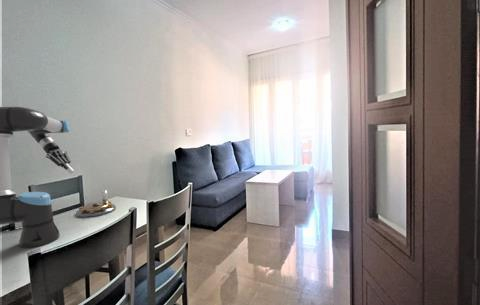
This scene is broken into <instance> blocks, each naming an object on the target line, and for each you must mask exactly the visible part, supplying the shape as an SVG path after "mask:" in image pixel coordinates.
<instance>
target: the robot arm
mask: <svg viewBox="0 0 480 305" xmlns="http://www.w3.org/2000/svg"><path fill="white" fill-rule="evenodd" d="M70 130H71V125H70V122H69V121H68V120H58V119H55V118H52V117H49V116H47V115H46V114H44V113H43V112H41V111H39V110H35V109H33V108H32V109H31V108H28V107H22V106H0V225H8V224H15V223H21V226H22V227H21V228H22V229H21V232H20V237H19V240H18V242H19V243H18V244H19V247H20V248H23V249H31V248H36V247H40V246H44V245H48V244H50V243H52V242H54V241H56V240H58V239H59V238H60V230H59V228H58V227H57V225H56V223H55V222H54V216H53V213H54V212H53V206H52V204H53V202H52V199H51V195H50V194H49V193H48V192H44V191H29V192H27V191H26V192H21V193H19V194H18V196H17V193H16V192H14V191H13V190H12V178H11V175H12V174H11V155H10V154H11V153H10V139H12V138H13V137H14V132H25V131H26V132H28V134H29V135H30V136H31V137H32V138H33V139H34V140H35V141H36V143H37V144H38V145H39V146H40V147H41V148H42V150H43V151H44V152H45V153H46V155H45V158H47V159H49V160H50V161H51V162H52V163H54V164H55V165H56V166H58V167H60V168H63V169H64V170H65V171H67V172H68V173H69V175H70V174H71V175H72V174H73V173H74V172H75V170H74V169H73V166H72V165H71V162H72V161H71V159H70V157H69V155H68V152H67V151H62V150H61V149H60V146H59V145H58V144H57V143H56V142H55V140H54V139H53V138H52V137H51V136H50V135H49V134H61V133H62V134H63V133H69V132H70Z"/></svg>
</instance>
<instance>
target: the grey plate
mask: <svg viewBox="0 0 480 305" xmlns="http://www.w3.org/2000/svg"><path fill="white" fill-rule="evenodd" d="M111 204H112V208H108V209H107V210H105V211H99V212H95V213H91V214H90V213H83V214H82V213H80V211H79V209H78V210H77V211H76V212H75V215H76V217H77V218H82V219H83V218H84V219H86V218H87V219H88V218H96V217H101V216H104V215H107V214H110V213H112V212H114V211H116V208H117V206H116V204H114V203H111Z"/></svg>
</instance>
